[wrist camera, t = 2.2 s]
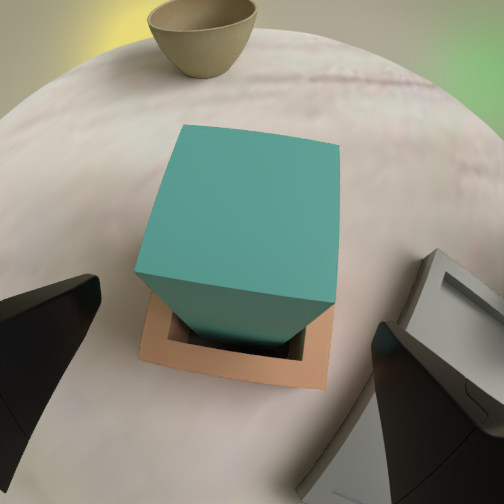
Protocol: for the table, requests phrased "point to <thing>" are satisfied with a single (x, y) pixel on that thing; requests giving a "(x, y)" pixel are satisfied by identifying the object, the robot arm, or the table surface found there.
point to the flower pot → (203, 33)
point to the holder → (233, 363)
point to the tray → (440, 342)
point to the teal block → (245, 234)
